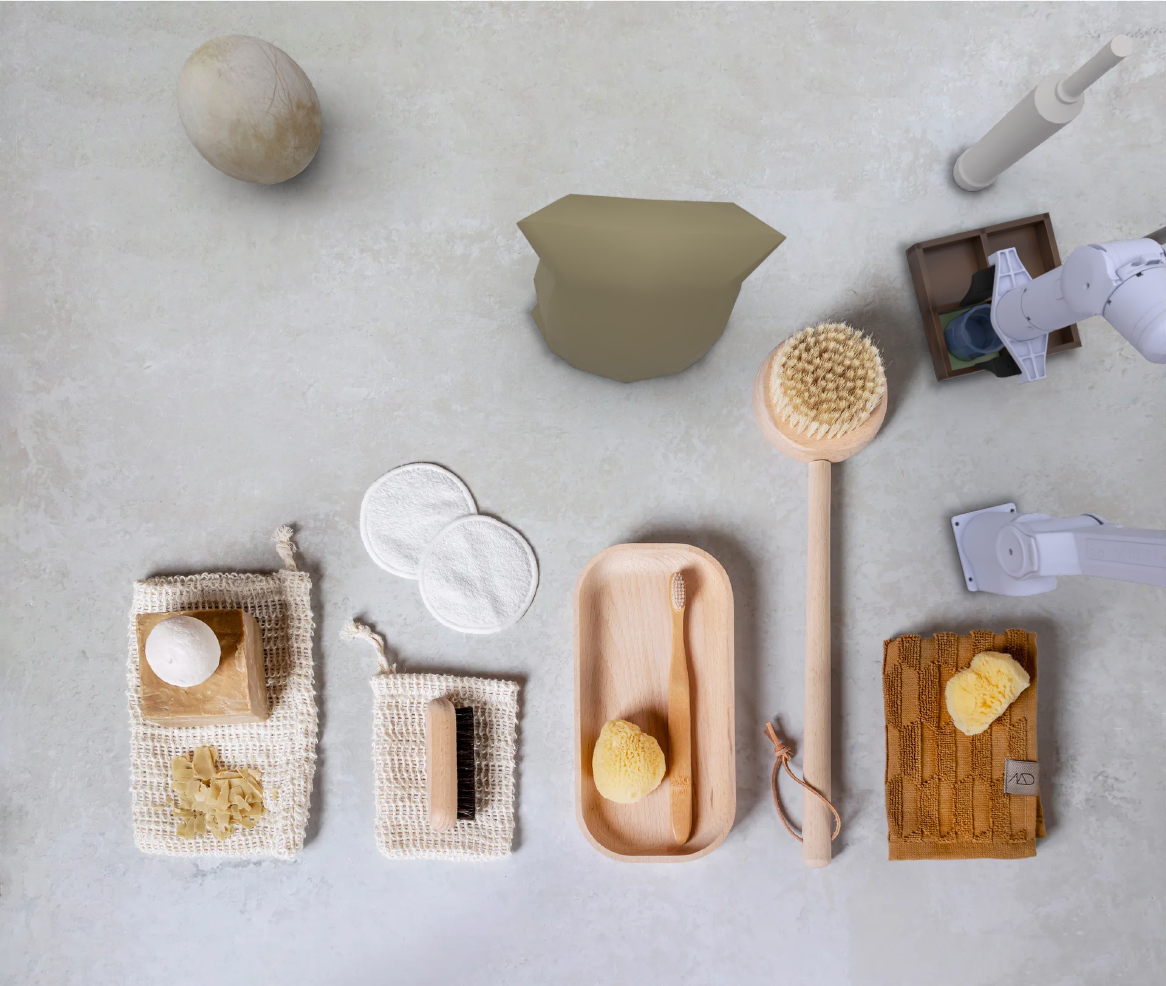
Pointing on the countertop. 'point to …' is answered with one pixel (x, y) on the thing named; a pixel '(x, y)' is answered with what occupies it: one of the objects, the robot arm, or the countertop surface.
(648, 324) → the container
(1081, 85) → the bottle
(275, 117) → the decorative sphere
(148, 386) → the countertop surface
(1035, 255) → the tray
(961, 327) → the cup
